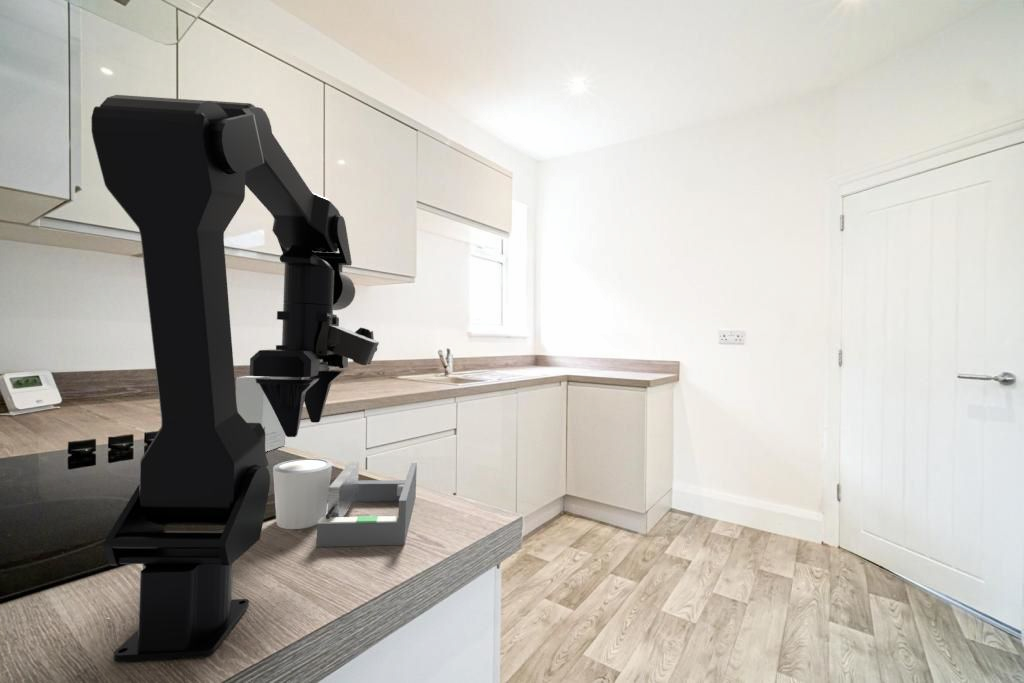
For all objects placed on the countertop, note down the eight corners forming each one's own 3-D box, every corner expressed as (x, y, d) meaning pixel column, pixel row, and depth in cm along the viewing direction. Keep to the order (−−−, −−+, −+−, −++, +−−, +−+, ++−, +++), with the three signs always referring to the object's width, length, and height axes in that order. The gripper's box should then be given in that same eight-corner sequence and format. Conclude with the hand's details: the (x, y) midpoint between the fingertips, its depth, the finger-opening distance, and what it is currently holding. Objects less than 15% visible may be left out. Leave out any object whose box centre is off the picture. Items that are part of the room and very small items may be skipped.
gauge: (404, 544, 51) (406, 500, 51) (316, 546, 50) (318, 501, 50) (415, 497, 66) (416, 463, 66) (348, 497, 65) (349, 463, 65)
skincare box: (260, 455, 87) (263, 377, 87) (231, 453, 87) (234, 376, 87) (286, 445, 95) (289, 374, 95) (259, 443, 96) (262, 373, 96)
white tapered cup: (308, 534, 53) (310, 474, 53) (257, 527, 54) (259, 469, 54) (341, 512, 60) (343, 460, 60) (295, 507, 61) (297, 455, 61)
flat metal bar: (332, 534, 50) (334, 494, 50) (321, 534, 50) (322, 494, 50) (357, 493, 63) (358, 461, 63) (348, 493, 63) (350, 461, 63)
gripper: (360, 302, 49) (355, 446, 49) (385, 312, 67) (381, 417, 67) (249, 297, 47) (244, 446, 47) (306, 309, 66) (302, 416, 66)
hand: (304, 428), depth 57 cm, fingers open, 9 cm apart
